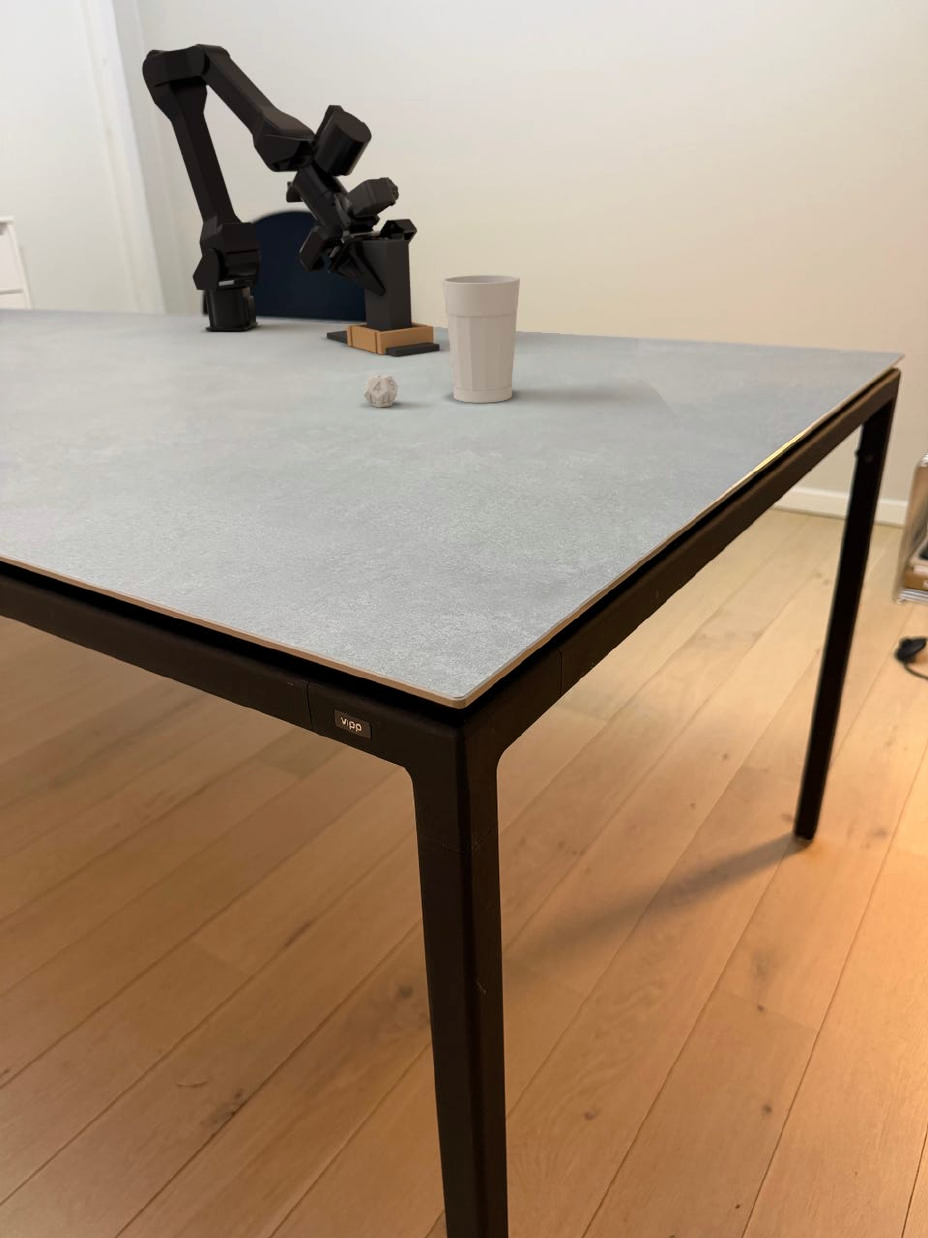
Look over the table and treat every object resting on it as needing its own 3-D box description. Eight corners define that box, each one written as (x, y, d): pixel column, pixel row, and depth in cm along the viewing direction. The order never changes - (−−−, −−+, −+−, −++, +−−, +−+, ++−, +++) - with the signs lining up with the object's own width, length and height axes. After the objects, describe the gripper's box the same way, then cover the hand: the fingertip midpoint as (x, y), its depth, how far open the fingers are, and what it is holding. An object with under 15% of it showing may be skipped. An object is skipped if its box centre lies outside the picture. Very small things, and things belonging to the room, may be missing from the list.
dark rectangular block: (367, 341, 129) (361, 241, 123) (388, 336, 132) (383, 238, 126) (391, 344, 126) (386, 242, 120) (412, 339, 129) (408, 239, 124)
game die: (401, 401, 98) (400, 372, 97) (394, 409, 95) (392, 379, 94) (369, 400, 99) (367, 372, 98) (361, 408, 96) (359, 379, 94)
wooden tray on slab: (322, 338, 137) (320, 319, 135) (371, 332, 141) (370, 313, 140) (390, 357, 122) (389, 335, 121) (444, 349, 126) (443, 328, 125)
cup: (446, 388, 103) (443, 275, 98) (517, 387, 103) (518, 273, 98) (445, 405, 96) (441, 284, 91) (521, 403, 96) (521, 282, 91)
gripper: (305, 155, 114) (377, 253, 113) (403, 155, 127) (468, 242, 126) (270, 223, 122) (337, 316, 121) (365, 216, 135) (426, 299, 134)
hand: (395, 291), depth 125 cm, fingers closed on dark rectangular block, 4 cm apart
